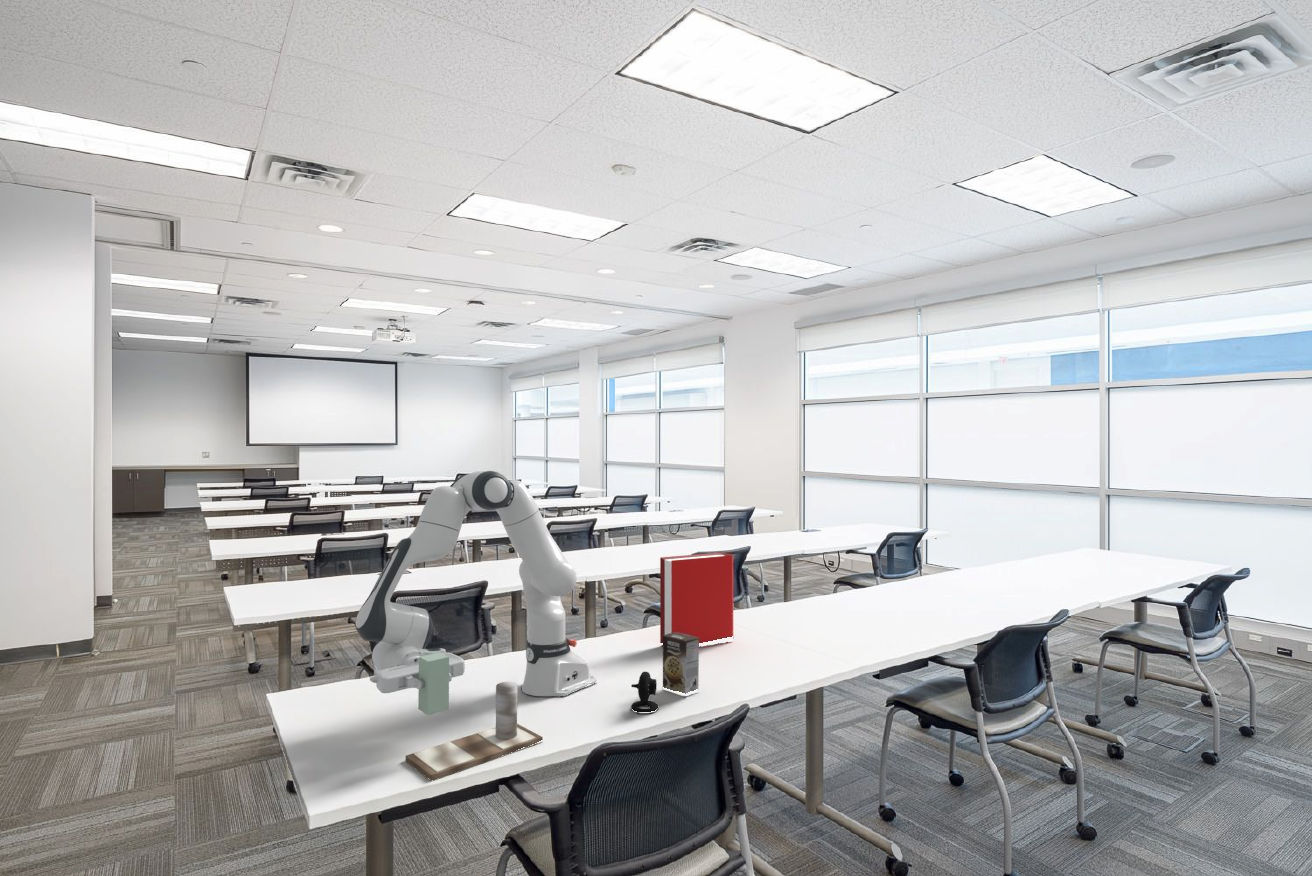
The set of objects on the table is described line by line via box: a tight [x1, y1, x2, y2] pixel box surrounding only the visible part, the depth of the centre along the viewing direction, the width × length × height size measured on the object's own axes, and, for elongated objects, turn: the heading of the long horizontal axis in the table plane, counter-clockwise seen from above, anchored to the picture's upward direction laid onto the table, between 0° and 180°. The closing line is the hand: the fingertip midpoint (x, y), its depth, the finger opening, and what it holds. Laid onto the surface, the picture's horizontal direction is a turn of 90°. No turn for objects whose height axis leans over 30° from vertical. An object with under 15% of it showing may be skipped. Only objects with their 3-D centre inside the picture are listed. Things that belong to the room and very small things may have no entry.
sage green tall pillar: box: [417, 652, 450, 716], centre depth 155 cm, size 5×5×12 cm
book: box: [659, 552, 734, 644], centre depth 246 cm, size 27×8×32 cm, turn 119°
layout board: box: [405, 681, 544, 782], centre depth 157 cm, size 28×13×13 cm, turn 134°
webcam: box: [630, 671, 659, 712], centre depth 183 cm, size 8×8×10 cm
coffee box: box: [662, 632, 700, 694], centre depth 197 cm, size 9×6×16 cm
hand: (435, 681), depth 155 cm, fingers closed on sage green tall pillar, 5 cm apart
